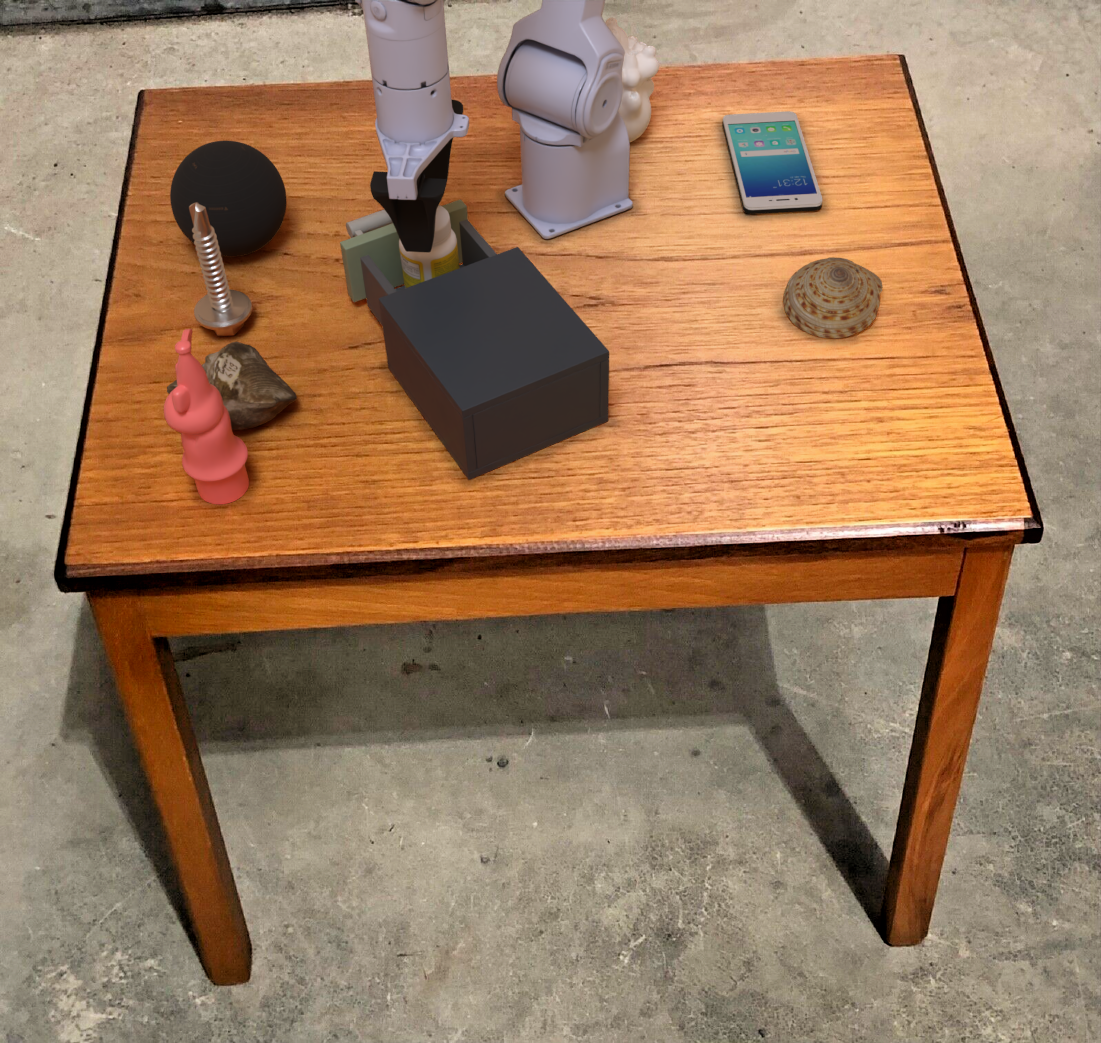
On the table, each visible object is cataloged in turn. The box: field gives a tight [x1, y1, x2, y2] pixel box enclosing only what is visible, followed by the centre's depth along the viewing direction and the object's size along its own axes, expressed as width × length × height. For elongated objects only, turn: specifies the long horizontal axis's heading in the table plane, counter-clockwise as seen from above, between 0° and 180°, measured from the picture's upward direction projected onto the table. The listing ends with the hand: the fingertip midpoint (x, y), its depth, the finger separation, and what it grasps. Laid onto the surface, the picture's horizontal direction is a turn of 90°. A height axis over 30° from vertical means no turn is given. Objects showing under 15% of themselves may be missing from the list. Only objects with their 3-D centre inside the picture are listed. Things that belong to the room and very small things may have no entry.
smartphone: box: [721, 110, 823, 215], centre depth 136 cm, size 8×1×15 cm
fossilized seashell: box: [166, 341, 298, 431], centre depth 115 cm, size 8×7×10 cm
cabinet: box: [379, 246, 610, 481], centre depth 114 cm, size 15×13×8 cm
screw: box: [189, 202, 253, 337], centre depth 118 cm, size 13×5×5 cm
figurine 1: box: [163, 328, 250, 505], centre depth 105 cm, size 5×5×15 cm
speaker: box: [169, 140, 287, 258], centre depth 126 cm, size 10×10×10 cm
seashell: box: [782, 256, 883, 339], centre depth 122 cm, size 8×6×8 cm
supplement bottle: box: [399, 204, 460, 288], centre depth 119 cm, size 5×5×8 cm
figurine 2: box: [604, 17, 660, 143], centre depth 135 cm, size 7×7×12 cm
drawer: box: [339, 199, 498, 326], centre depth 121 cm, size 18×11×6 cm, turn 29°
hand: (425, 219), depth 115 cm, fingers open, 7 cm apart
